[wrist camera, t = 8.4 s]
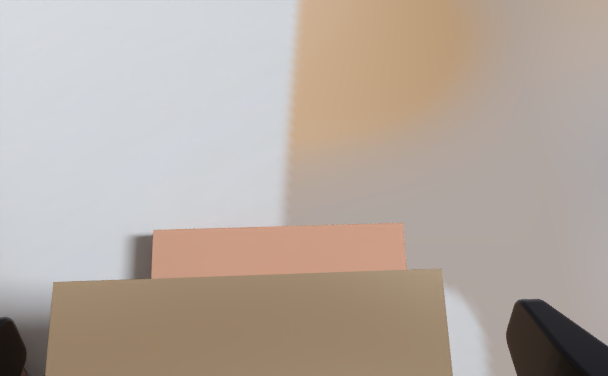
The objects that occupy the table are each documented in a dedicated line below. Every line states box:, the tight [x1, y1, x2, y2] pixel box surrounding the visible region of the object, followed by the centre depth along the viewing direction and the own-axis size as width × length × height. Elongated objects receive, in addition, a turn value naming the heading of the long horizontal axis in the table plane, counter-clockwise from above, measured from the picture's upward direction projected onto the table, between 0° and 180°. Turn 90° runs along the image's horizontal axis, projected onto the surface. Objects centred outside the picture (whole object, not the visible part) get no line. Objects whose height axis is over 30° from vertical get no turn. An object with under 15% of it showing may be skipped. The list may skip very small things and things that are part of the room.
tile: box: [151, 223, 407, 279], centre depth 17 cm, size 9×9×1 cm
